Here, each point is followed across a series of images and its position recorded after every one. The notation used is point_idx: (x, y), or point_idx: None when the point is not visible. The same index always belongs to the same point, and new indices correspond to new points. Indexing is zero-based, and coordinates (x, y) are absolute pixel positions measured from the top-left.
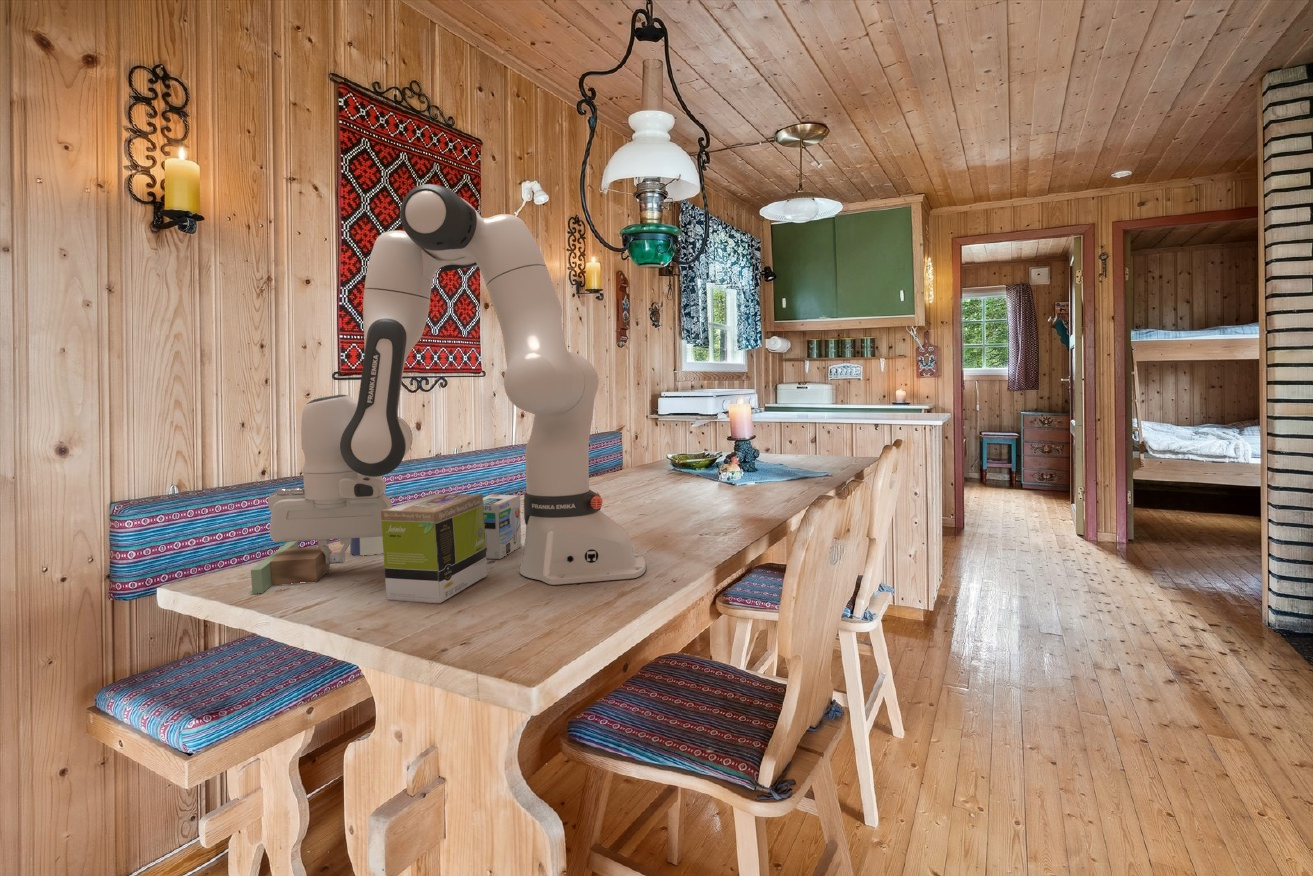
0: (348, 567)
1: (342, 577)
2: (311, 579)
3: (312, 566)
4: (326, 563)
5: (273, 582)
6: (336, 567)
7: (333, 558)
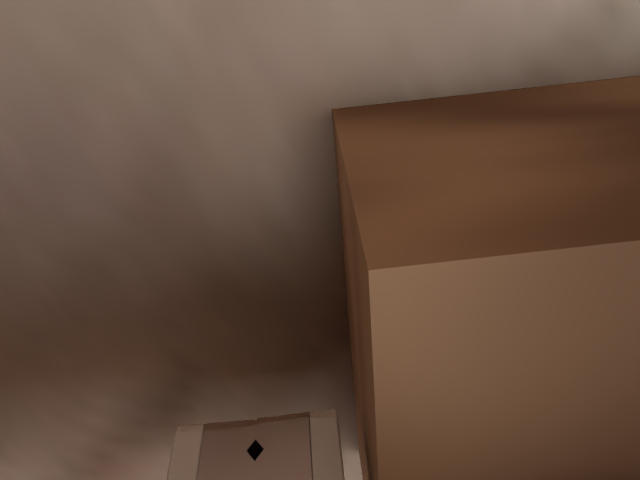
0: None
1: (138, 240)
2: (388, 116)
3: (396, 195)
4: (333, 411)
5: None
6: None
7: (264, 458)
